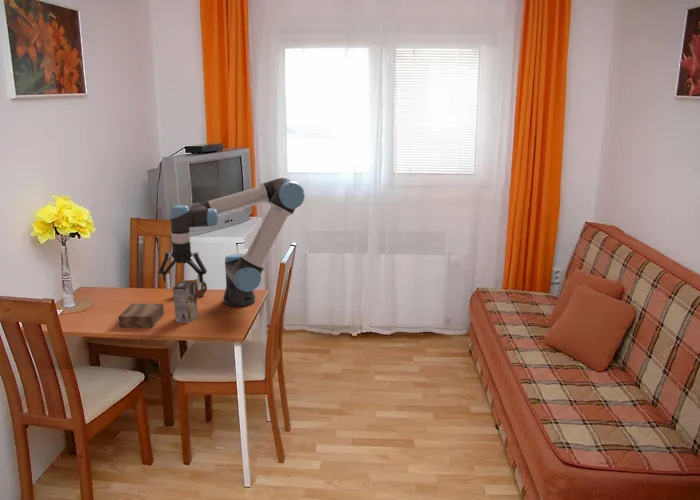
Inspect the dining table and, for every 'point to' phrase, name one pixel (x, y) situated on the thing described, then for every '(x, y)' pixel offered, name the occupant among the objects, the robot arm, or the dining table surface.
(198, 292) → the tin
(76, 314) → the dining table surface
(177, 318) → the coffee box
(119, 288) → the dining table surface
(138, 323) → the walnut plinth
